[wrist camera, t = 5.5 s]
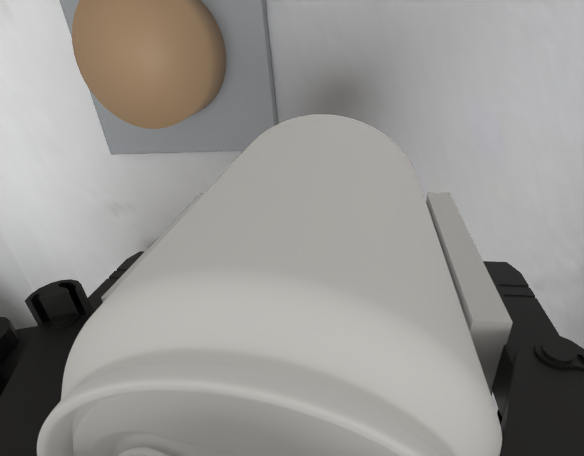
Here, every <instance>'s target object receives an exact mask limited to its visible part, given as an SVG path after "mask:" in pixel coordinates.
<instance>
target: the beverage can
mask: <svg viewBox="0 0 584 456" xmlns="http://www.w3.org/2000/svg"><path fill="white" fill-rule="evenodd" d="M502 441H503V437H502V431H501V426H500V422H499V419H498V415H497V412H496V409H495V406H494V403H493V400H492V397H491V394H490V391H489V388H488V385H487V382H486V379H485V376H484V373H483V370H482V367H481V364H480V361H479V358H478V355H477V352H476V349H475V346H474V343H473V340H472V337H471V334H470V332H469V329H468V326H467V323H466V320H465V317H464V314H463V311H462V308H461V305H460V302H459V299H458V296H457V293H456V290H455V287H454V284H453V281H452V278H451V275H450V272H449V269H448V266H447V263H446V260H445V257H444V254H443V251H442V248H441V245H440V242H439V239H438V236H437V233H436V231H435V228H434V225H433V222H432V219H431V216H430V213H429V210H428V207H427V204H426V201H425V198H424V195H423V192H422V189H421V186H420V183H419V180H418V177H417V175H416V173H415V170H414V168H413V166H412V164H411V163H410V161H409V159H408V158H407V156H406V155H405V154H404V152H403V151H402V150H401V149H400V148H399V147H398V146H397V145H396V144H395V143H394V142H393V141H392V140H391V139H390V138H389V137H387V136H386V135H385V134H383V133H382V132H380V131H379V130H377V129H376V128H374V127H372V126H370V125H368V124H366V123H364V122H361V121H358V120H355V119H352V118H349V117H344V116H339V115H331V114H313V115H305V116H300V117H296V118H292V119H289V120H286V121H284V122H281V123H279V124H277V125H275V126H273V127H271V128H270V129H268V130H267V131H265V132H264V133H262V134H261V135H260V136H259V137H258V138H256V139H255V140H254V141H253V142H252V143H251V144H250V145H249V146H248V147H247V148H246V150H245V151H244V152H243V153H242V154H241V155H240V156H239V157H238V158H237V159H236V160H235V161H234V162H233V163H232V165H231V166H230V167H229V168H228V169H227V170H226V171H225V172H224V173H223V174H222V175H221V176H220V177H219V179H218V180H217V181H216V182H215V183H214V184H213V185H212V186H211V187H210V188H209V189H208V190H207V191H206V193H205V194H204V195H203V196H202V197H201V198H200V199H199V200H198V201H197V202H196V203H195V204H194V205H193V207H192V208H191V209H190V210H189V211H188V212H187V213H186V214H185V215H184V216H183V217H182V218H181V219H180V221H179V222H178V223H177V224H176V225H175V226H174V227H173V228H172V229H171V230H170V231H169V232H168V233H167V234H166V236H165V237H164V238H163V239H162V240H161V241H160V242H159V243H158V244H157V245H156V246H155V247H154V248H153V250H152V251H151V252H150V253H149V254H148V255H147V256H146V257H145V258H144V259H143V260H142V261H141V262H140V264H139V265H138V266H137V267H136V268H135V269H134V270H133V271H132V272H131V273H130V274H129V275H128V276H127V278H126V279H125V280H124V281H123V282H122V283H121V284H120V285H119V286H118V287H117V288H116V289H115V290H114V292H113V293H112V294H111V295H110V296H109V297H108V298H107V299H106V300H105V301H104V302H103V303H102V304H101V306H100V307H99V308H98V309H97V310H96V311H95V312H94V313H93V314H92V316H91V317H90V318H89V319H88V320H87V322H86V323H85V325H84V326H83V328H82V329H81V331H80V332H79V334H78V336H77V338H76V340H75V342H74V343H73V346H72V348H71V351H70V353H69V356H68V359H67V362H66V366H65V370H64V376H63V383H62V393H61V401H60V402H59V403H58V404H57V406H56V407H55V408H54V409H53V410H52V412H51V413H50V414H49V416H48V417H47V419H46V420H45V422H44V424H43V425H42V428H41V430H40V433H39V436H38V440H37V456H500V453H501V448H502Z"/></svg>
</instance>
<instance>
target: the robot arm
mask: <svg viewBox="0 0 584 456" xmlns="http://www.w3.org/2000/svg"><path fill="white" fill-rule="evenodd" d="M204 194H205V193H200V194H199V195H198V196H197V198H196V199H195V200H194V201H193V202H192V203H191V204H190V205H189V206H188V207H187V208H186V209H185V210H184V211H183V212H182V213H181V214H180V215H179V216H178V217H177V218H176V220H175V221H174V222H173V223H172V224H171V225H170V226H169V227H168V228H167V229H166V230H165V231H164V232H163V233H162V234H161V235H160V236H159V237H158V238H157V239H156V240H155V242H154V243H153V244H152V245H151V246H150V247H149V248H148V249H147V250H146V251H145V252H138V253H137V254H135V255H133V256H132V257H130V258H128V259H126V260H125V261H124V262H123V263H122V264H121V265H120V266H119V267H118V268H117V271H114V272H113V273H112V274H111V275H110V276H109V279H106V280H105V281H104V282H103V283H102V284H101V285H100V286H99V287H98V288H97V289H96V290H95V291H94V292H93V293H92V294H91V295H90V296H89V297H88V298H87V296H86V294H85V292H84V289H83V287H82V285H81V284H80V283H79V282H78V281H76V280H71V279H70V280H61V281H57V282H53V283H50V284H48V285H46V286H44V287H41V288H39V289H38V290H36V291H35V292H33V293H32V294H31V295H30V296H29V297H28V298H27V299H26V300H25V302H26V304H27V306H28V308H29V309H30V311H31V313H32V315H33V317H34V318H35V320H36V322H37V324H38V326H36V327H30V328H24V329H18V330H15V328H14V327H13V325H12V323H11V322H10V320H8V319H7V318H5V317H0V456H37V440H38V436H39V433H40V430H41V428H42V425H43V424H44V422H45V420H46V419H47V417H48V416H49V414H50V413H51V412H52V410H53V409H54V408H55V407H56V406H57V404H58V403H59V402H60V401H61V393H62V383H63V376H64V370H65V366H66V362H67V359H68V356H69V353H70V351H71V348H72V346H73V343H74V342H75V340H76V338H77V336H78V334H79V332H80V331H81V329H82V328H83V326H84V325H85V323H86V322H87V320H88V319H89V318H90V317H91V316H92V314H93V313H94V312H95V311H96V310H97V309H98V308H99V307H100V306H101V304H102V303H103V302H104V301H105V300H106V299H107V298H108V297H109V296H110V295H111V294H112V293H113V292H114V290H115V289H116V288H117V287H118V286H119V285H120V284H121V283H122V282H123V281H124V280H125V279H126V278H127V276H128V275H129V274H130V273H131V272H132V271H133V270H134V269H135V268H136V267H137V266H138V265H139V264H140V262H141V261H142V260H143V259H144V258H145V257H146V256H147V255H148V254H149V253H150V252H151V251H152V250H153V248H154V247H155V246H156V245H157V244H158V243H159V242H160V241H161V240H162V239H163V238H164V237H165V236H166V234H167V233H168V232H169V231H170V230H171V229H172V228H173V227H174V226H175V225H176V224H177V223H178V222H179V221H180V219H181V218H182V217H183V216H184V215H185V214H186V213H187V212H188V211H189V210H190V209H191V208H192V207H193V205H194V204H195V203H196V202H197V201H198V200H199V199H200V198H201V197H202V196H203V195H204ZM426 204H427V207H428V210H429V213H430V216H431V219H432V222H433V225H434V228H435V231H436V233H437V236H438V239H439V242H440V245H441V248H442V251H443V254H444V257H445V260H446V263H447V266H448V269H449V272H450V275H451V278H452V281H453V284H454V287H455V290H456V293H457V296H458V299H459V302H460V305H461V308H462V311H463V314H464V317H465V320H466V323H467V326H468V329H469V332H470V334H471V337H472V340H473V343H474V346H475V349H476V352H477V355H478V358H479V361H480V364H481V367H482V370H483V373H484V376H485V379H486V382H487V385H488V388H489V391H490V394H491V396H492V392H493V394H494V397H495V399H496V402H497V405H498V408H499V409H498V412H497V415H498V419H499V422H500V426H501V431H502V437H503V441H502V448H501V453H500V456H584V349H583V348H581V347H580V346H578V345H577V344H575V343H574V342H572V341H570V340H568V339H566V338H563V337H561V336H559V334H558V332H557V331H556V329H555V328H554V326H553V324H552V323H551V321H550V319H549V318H548V316H547V315H546V313H545V311H544V310H543V308H542V306H541V305H540V303H539V302H538V300H537V299H536V298H535V295H534V293H533V292H532V290H531V289H530V288H529V287H528V286H529V285H528V284H527V282H526V281H525V279H524V277H523V276H522V274H521V273H520V272H519V271H517V270H516V269H515V268H514V267H512V266H511V265H510V264H508V263H507V262H485V261H482V259H481V256H480V254H479V252H478V250H477V248H476V246H475V244H474V242H473V240H472V238H471V236H470V234H469V232H468V230H467V228H466V226H465V224H464V222H463V220H462V218H461V216H460V214H459V211H458V209H457V207H456V205H455V203H454V201H453V199H452V197H451V195H450V193H427V200H426Z"/></svg>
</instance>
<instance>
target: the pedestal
mask: <svg viewBox="0 0 584 456" xmlns="http://www.w3.org/2000/svg"><path fill="white" fill-rule="evenodd" d="M60 3H61V6H62V9H63V12H64V15H65V18H66V21H67V24H68V27H69V30H70V33H71V36H72V43H73V49H74V55H75V58H76V62H77V65H78V67H79V70H80V72H81V75H82V77H83V79H84V81H85V83H86V84H87V86H88V87H89V90H90V93H91V96H92V99H93V102H94V105H95V108H96V111H97V114H98V117H99V120H100V123H101V126H102V129H103V132H104V135H105V138H106V141H107V144H108V147H109V150H110V153H111V154H146V153H182V152H218V151H245V150H246V148H247V147H248V146H249V145H250V144H251V143H252V142H253V141H254V140H255V139H256V138H258V137H259V136H260V135H261V134H262V133H264V132H265V131H267V130H268V129H270V128H271V127H273V126H275V125H277V124H278V123H277V113H276V103H275V93H274V83H273V74H272V64H271V54H270V44H269V34H268V24H267V14H266V4H265V0H60Z"/></svg>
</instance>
